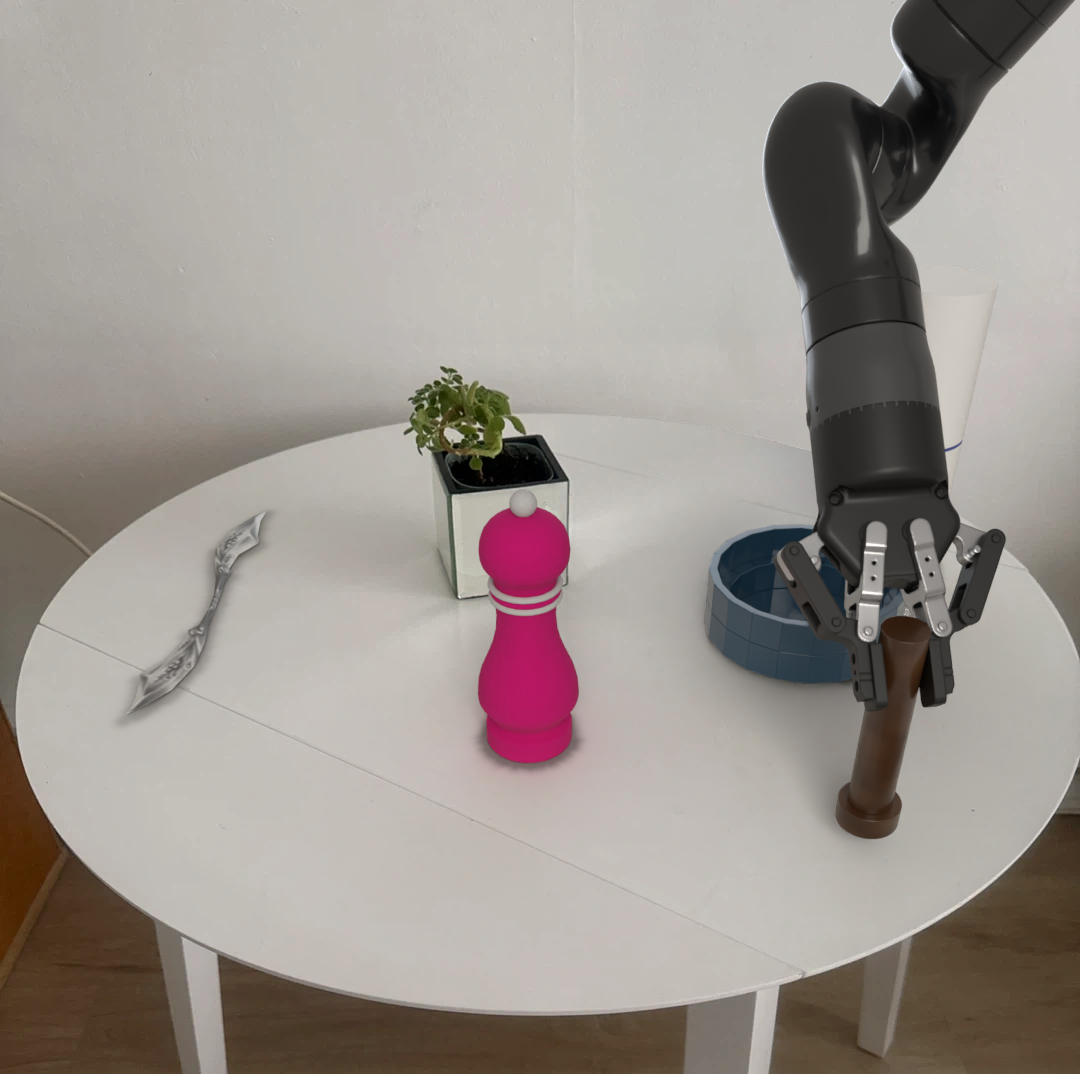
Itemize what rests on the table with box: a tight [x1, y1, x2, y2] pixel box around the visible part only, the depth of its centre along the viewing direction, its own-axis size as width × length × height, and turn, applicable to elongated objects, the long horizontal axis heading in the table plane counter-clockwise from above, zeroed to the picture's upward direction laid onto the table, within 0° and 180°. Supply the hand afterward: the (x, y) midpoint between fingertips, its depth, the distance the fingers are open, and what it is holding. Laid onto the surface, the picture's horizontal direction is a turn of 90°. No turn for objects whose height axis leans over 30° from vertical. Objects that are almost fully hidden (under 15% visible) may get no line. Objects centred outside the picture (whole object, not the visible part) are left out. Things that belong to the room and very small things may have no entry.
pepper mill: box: [477, 488, 580, 764], centre depth 79 cm, size 7×7×20 cm
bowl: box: [703, 523, 907, 685], centre depth 93 cm, size 15×15×6 cm
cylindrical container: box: [917, 265, 999, 499], centre depth 96 cm, size 7×7×25 cm
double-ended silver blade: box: [125, 510, 267, 715], centre depth 100 cm, size 32×1×5 cm
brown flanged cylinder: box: [834, 615, 931, 840], centre depth 71 cm, size 4×4×15 cm
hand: (906, 706), depth 67 cm, fingers closed on brown flanged cylinder, 3 cm apart
